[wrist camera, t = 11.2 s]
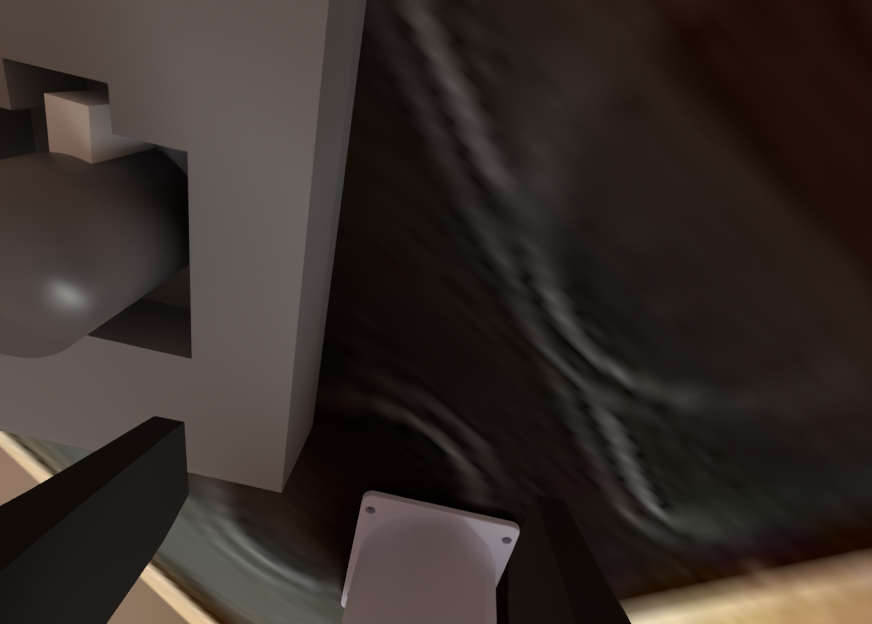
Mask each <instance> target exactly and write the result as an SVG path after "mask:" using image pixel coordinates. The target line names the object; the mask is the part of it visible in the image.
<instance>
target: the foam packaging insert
mask: <svg viewBox="0 0 872 624" xmlns="http://www.w3.org/2000/svg"><path fill="white" fill-rule="evenodd" d="M366 1H367V0H0V160H1V159H6V158H11V157H16V156H21V155H26V154H31V153H36V152H42V151H47V150H49V140H48V130H47V119H46V109H45V99H44V93H55V92H70V91H85V90H101V89H108V91H109V102H110V113H111V124H112V134H114V135H119V136H123V137H127V138H131V139H135V140H140V141H144V142H148V143H152V144H155V148H156V149H157V150H159V151H160V152H162V153H164V154H165V155H166V156H168V157H169V158H170V159H171V160H173V161H174V162H175V163H176V164H177V165H178V166H179V167H180V168H181V169H182V170H183V171H184V173H185V174H186V175H187V176H188V199H189V246H190V264H189V265H188V266H187V267H185V268H184V269H182V270H181V271H179V272H178V273H177V274H175V275H174V276H172V277H171V278H169V279H168V280H166V281H165V282H163V283H162V284H161V285H159V286H158V287H156V288H155V289H153V290H152V291H150V292H149V293H147V294H146V295H144V296H143V297H142V298H140V299H139V300H137V301H136V302H134V303H133V304H131V305H130V306H128V307H127V308H125V309H124V310H123V311H121V312H120V313H118V314H117V315H115V316H114V317H112V318H111V319H109V320H108V321H107V322H105V323H104V324H102V325H101V326H99V327H98V328H96V329H95V330H93V331H92V332H90V333H89V334H88V335H86V336H85V337H83V338H82V339H80V340H79V341H77V342H76V343H74V344H73V345H71V346H70V347H69V348H67V349H66V350H64V351H62V352H60V353H58V354H55V355H51V356H48V357H41V358H21V357H13V356H9V355H4V354H1V353H0V431H4V432H9V433H13V434H18V435H22V436H27V437H31V438H36V439H41V440H45V441H50V442H54V443H59V444H63V445H68V446H72V447H77V448H81V449H86V450H90V451H97V450H98V449H100V448H102V447H103V446H105V445H106V444H108V443H110V442H111V441H113V440H115V439H116V438H118V437H120V436H121V435H123V434H125V433H126V432H128V431H130V430H131V429H133V428H135V427H136V426H138V425H140V424H141V423H143V422H145V421H146V420H148V419H150V418H152V417H153V416H158V417H163V418H168V419H173V420H178V421H183V422H185V439H186V456H187V472H190V473H194V474H199V475H203V476H208V477H213V478H217V479H222V480H226V481H231V482H235V483H240V484H244V485H249V486H253V487H258V488H262V489H267V490H271V491H276V492H280V493H282V491H283V488H284V486H285V484H286V482H287V480H288V478H289V476H290V473H291V471H292V469H293V467H294V465H295V463H296V461H297V458H298V456H299V454H300V452H301V450H302V448H303V446H304V443H305V441H306V439H307V437H308V435H309V433H310V431H311V428H312V426H313V419H314V411H315V403H316V395H317V387H318V379H319V371H320V364H321V356H322V348H323V340H324V332H325V324H326V316H327V308H328V300H329V293H330V285H331V277H332V269H333V261H334V253H335V245H336V237H337V230H338V222H339V214H340V206H341V198H342V190H343V182H344V174H345V166H346V159H347V151H348V143H349V135H350V127H351V119H352V111H353V103H354V96H355V88H356V80H357V72H358V64H359V56H360V48H361V40H362V32H363V25H364V17H365V9H366Z"/></svg>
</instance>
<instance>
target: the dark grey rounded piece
mask: <svg viewBox="0 0 872 624" xmlns="http://www.w3.org/2000/svg"><path fill="white" fill-rule="evenodd" d="M44 99H45V109H46V119H47V130H48V140H49V150H47V151H42V152H36V153H31V154H26V155H21V156H16V157H11V158H6V159H1V160H0V353H1V354H4V355H9V356H13V357H21V358H41V357H48V356H51V355H55V354H58V353H60V352H62V351H64V350H66V349H67V348H69V347H70V346H71V345H73V344H74V343H76V342H77V341H79V340H80V339H82V338H83V337H85V336H86V335H88V334H89V333H90V332H92V331H93V330H95V329H96V328H98V327H99V326H101V325H102V324H104V323H105V322H107V321H108V320H109V319H111V318H112V317H114V316H115V315H117V314H118V313H120V312H121V311H123V310H124V309H125V308H127V307H128V306H130V305H131V304H133V303H134V302H136V301H137V300H139V299H140V298H142V297H143V296H144V295H146V294H147V293H149V292H150V291H152V290H153V289H155V288H156V287H158V286H159V285H161V284H162V283H163V282H165V281H166V280H168V279H169V278H171V277H172V276H174V275H175V274H177V273H178V272H179V271H181V270H182V269H184V268H185V267H187V266H188V265H189V264H190V246H189V199H188V176H187V175H186V174H185V173H184V171H183V170H182V169H181V168H180V167H179V166H178V165H177V164H176V163H175V162H174V161H173V160H171V159H170V158H169V157H168V156H166V155H165V154H164V153H162V152H160V151H159V150H157V149H156V148H155V144H152V143H148V142H144V141H140V140H135V139H131V138H127V137H123V136H119V135H114V134H112V124H111V113H110V102H109V91H108V89H101V90H85V91H70V92H55V93H44Z"/></svg>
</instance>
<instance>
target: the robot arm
mask: <svg viewBox="0 0 872 624" xmlns="http://www.w3.org/2000/svg"><path fill="white" fill-rule="evenodd" d="M188 494H189V490H188V473H187V456H186V439H185V422H183V421H178V420H173V419H168V418H163V417H158V416H153V417H152V418H150V419H148V420H146V421H145V422H143V423H141V424H140V425H138V426H136V427H135V428H133V429H131V430H130V431H128V432H126V433H125V434H123V435H121V436H120V437H118V438H116V439H115V440H113V441H111V442H110V443H108V444H106V445H105V446H103V447H102V448H100V449H98V450H97V451H95V452H93V453H92V454H90V455H88V456H87V457H85V458H83V459H82V460H80V461H78V462H77V463H75V464H73V465H72V466H70V467H68V468H66V469H65V470H63V471H61V472H60V473H58V474H56V475H54V476H53V477H51V478H49V479H48V480H46V481H44V482H42V483H41V484H39V485H37V486H36V487H34V488H32V489H30V490H29V491H27V492H25V493H23V494H21V495H20V496H18V497H16V498H14V499H12V500H10V501H9V502H7V503H5V504H3V505H1V506H0V624H107V622H108V621H109V619H110V618H111V616H112V615H113V614H114V612H115V611H116V609H117V608H118V606H119V605H120V604H121V602H122V601H123V599H124V598H125V596H126V595H127V593H128V592H129V591H130V589H131V588H132V586H133V585H134V584H135V582H136V581H137V579H138V578H139V576H140V575H141V573H142V572H143V570H144V569H145V568H146V566H147V565H148V563H149V562H150V560H151V559H152V557H153V556H154V554H155V553H156V551H157V550H158V548H159V547H160V546H161V544H162V542H163V541H164V539H165V537H166V535H167V533H168V532H169V530H170V528H171V526H172V525H173V523H174V521H175V519H176V517H177V515H178V513H179V511H180V509H181V508H182V506H183V504H184V502H185V500H186V498H187V496H188ZM371 507H373V508H371ZM510 555H511V556H510ZM509 557H510V558H509ZM508 560H509V579H508V619H509V624H631V622H630V620H629V619H628V617H627V615H626V613H625V611H624V610H623V608H622V606H621V604H620V603H619V601H618V599H617V597H616V596H615V594H614V592H613V590H612V589H611V587H610V585H609V583H608V581H607V580H606V578H605V576H604V574H603V572H602V570H601V569H600V567H599V565H598V563H597V561H596V559H595V557H594V555H593V553H592V551H591V550H590V548H589V546H588V544H587V542H586V540H585V538H584V536H583V534H582V532H581V530H580V528H579V526H578V524H577V522H576V520H575V518H574V516H573V514H572V512H571V510H570V508H569V507H568V505H567V503H566V502H565V500H560V499H555V498H550V497H545V496H540V495H536V494H535V496H534V499H533V501H532V504H531V506H530V509H529V511H528V514H527V516H526V519H525V521H524V524H523V526H522V529H521V531H519V526H518V525H517V524H516V523H515V522H512V521H508V520H503V519H499V518H494V517H490V516H485V515H481V514H476V513H472V512H467V511H463V510H458V509H454V508H449V507H445V506H440V505H436V504H431V503H427V502H422V501H418V500H413V499H409V498H404V497H400V496H395V495H391V494H386V493H382V492H377V491H367V492H366V493H364V495H363V499H362V503H361V507H360V512H359V517H358V522H357V527H356V532H355V536H354V541H353V546H352V551H351V556H350V561H349V565H348V570H347V575H346V580H345V585H344V589H343V594H342V599H341V605H342V607H343V608H345V609H344V613H343V617H342V621H341V624H497V617H496V587H497V584H498V582H499V580H500V578H501V575H502V573H503V571H504V569H505V566H506V564H507V562H508Z"/></svg>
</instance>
